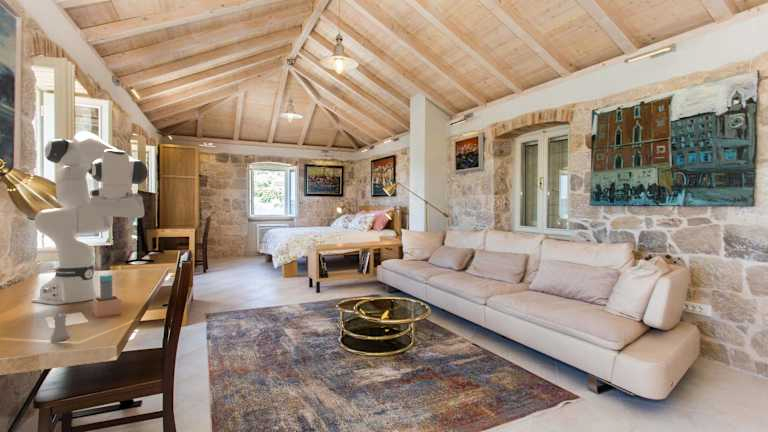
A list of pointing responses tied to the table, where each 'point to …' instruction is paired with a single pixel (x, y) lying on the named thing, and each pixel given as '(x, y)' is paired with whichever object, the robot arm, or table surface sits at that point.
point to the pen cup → (106, 306)
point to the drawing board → (68, 319)
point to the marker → (106, 287)
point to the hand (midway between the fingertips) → (117, 228)
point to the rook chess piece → (60, 328)
